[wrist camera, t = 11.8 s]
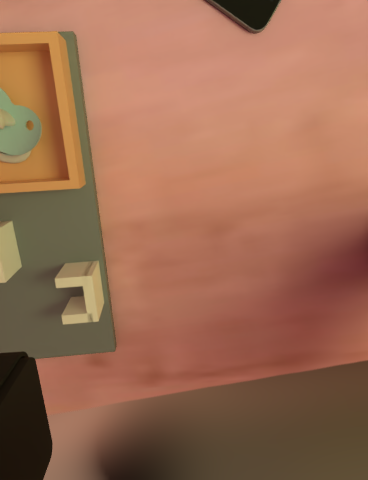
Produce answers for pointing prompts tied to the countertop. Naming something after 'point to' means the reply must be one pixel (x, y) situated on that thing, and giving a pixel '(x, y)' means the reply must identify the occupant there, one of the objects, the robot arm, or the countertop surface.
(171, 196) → the countertop surface
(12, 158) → the pacifier
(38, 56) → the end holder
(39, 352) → the board
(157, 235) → the countertop surface
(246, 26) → the smartphone
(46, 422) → the robot arm
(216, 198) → the countertop surface
